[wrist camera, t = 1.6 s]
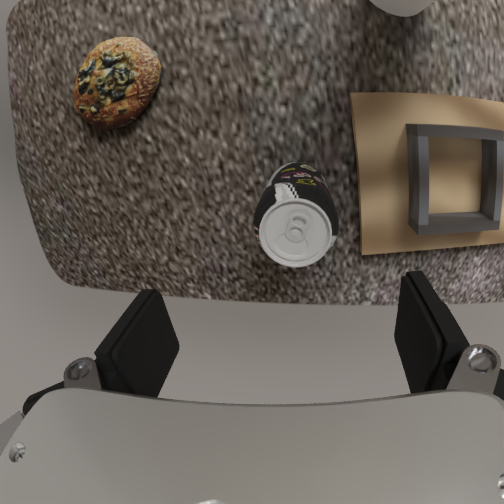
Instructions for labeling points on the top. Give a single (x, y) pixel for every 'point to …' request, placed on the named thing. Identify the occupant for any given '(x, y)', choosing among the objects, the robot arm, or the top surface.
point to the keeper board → (428, 171)
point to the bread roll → (116, 82)
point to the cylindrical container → (402, 6)
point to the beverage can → (296, 216)
